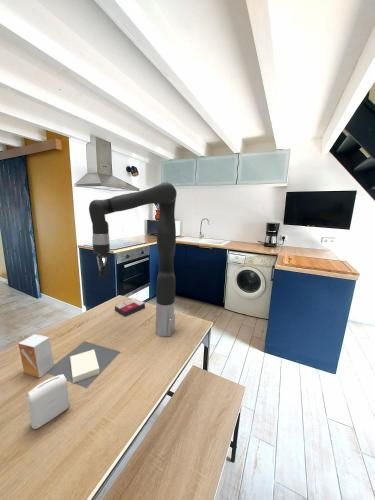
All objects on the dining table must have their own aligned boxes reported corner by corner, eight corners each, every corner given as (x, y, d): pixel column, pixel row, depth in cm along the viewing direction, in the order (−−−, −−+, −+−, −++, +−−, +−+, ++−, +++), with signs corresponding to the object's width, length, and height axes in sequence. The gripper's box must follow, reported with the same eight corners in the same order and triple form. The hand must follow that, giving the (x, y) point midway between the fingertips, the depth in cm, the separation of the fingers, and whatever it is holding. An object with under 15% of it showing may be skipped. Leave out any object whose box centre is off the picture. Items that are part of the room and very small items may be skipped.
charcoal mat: (120, 352, 93) (120, 351, 92) (86, 389, 74) (86, 388, 74) (84, 342, 98) (84, 341, 98) (44, 373, 80) (44, 372, 80)
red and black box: (114, 305, 128) (134, 296, 139) (114, 311, 129) (134, 302, 140) (124, 311, 121) (145, 302, 132) (125, 318, 122) (145, 308, 133)
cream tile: (70, 356, 85) (72, 377, 75) (94, 349, 90) (99, 368, 80) (70, 361, 85) (73, 383, 75) (94, 354, 90) (99, 373, 80)
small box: (23, 373, 79) (17, 343, 77) (40, 362, 85) (34, 333, 82) (39, 378, 77) (33, 347, 74) (55, 366, 82) (49, 336, 80)
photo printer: (33, 433, 59) (28, 397, 57) (29, 422, 62) (24, 388, 60) (71, 407, 67) (68, 375, 65) (66, 399, 70) (63, 368, 67)
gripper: (112, 244, 96) (113, 280, 100) (106, 239, 107) (107, 272, 110) (94, 245, 92) (96, 282, 96) (90, 240, 103) (92, 273, 106)
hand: (102, 276), depth 103 cm, fingers closed
